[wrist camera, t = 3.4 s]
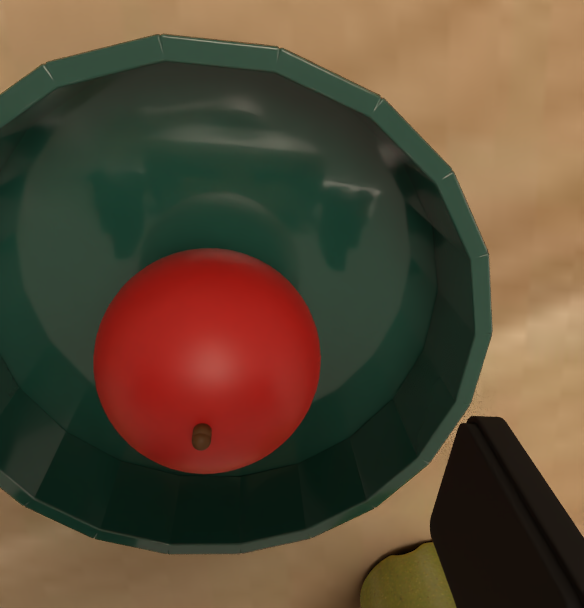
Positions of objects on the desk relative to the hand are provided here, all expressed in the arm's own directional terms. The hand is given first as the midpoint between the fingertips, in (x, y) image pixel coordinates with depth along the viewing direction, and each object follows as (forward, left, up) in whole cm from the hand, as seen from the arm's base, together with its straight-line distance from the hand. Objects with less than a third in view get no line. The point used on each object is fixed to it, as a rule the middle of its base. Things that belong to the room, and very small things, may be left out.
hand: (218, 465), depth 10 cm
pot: (0, 0, -8) cm, 8 cm away
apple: (0, 0, -7) cm, 7 cm away
